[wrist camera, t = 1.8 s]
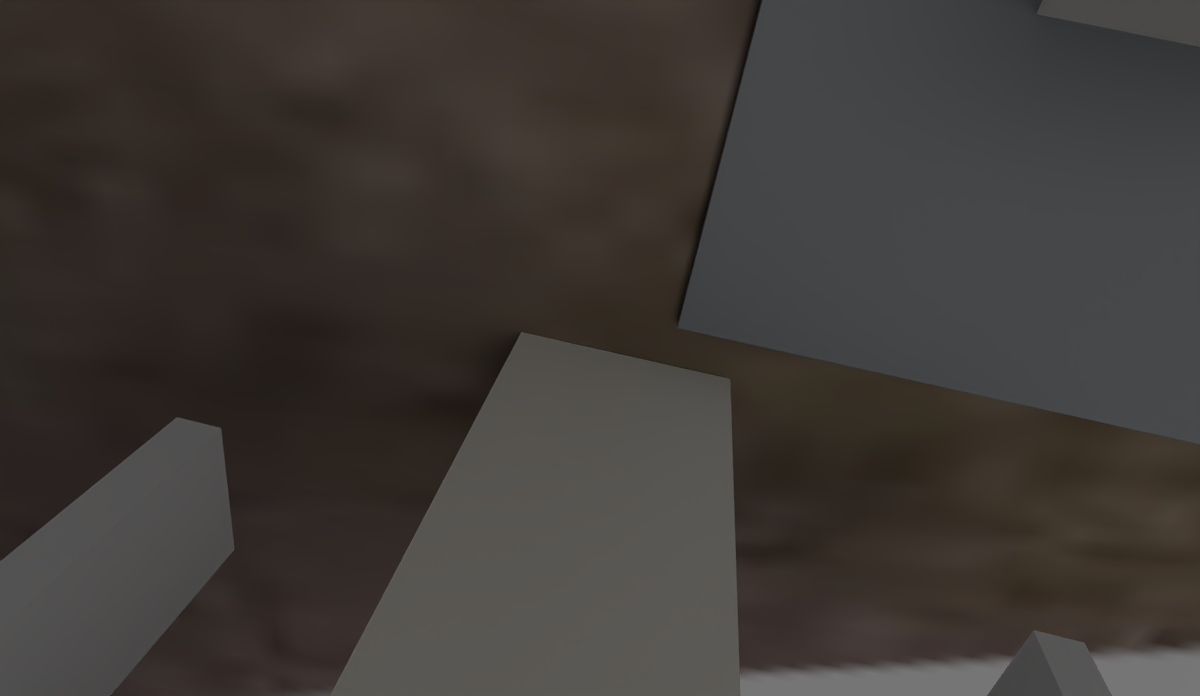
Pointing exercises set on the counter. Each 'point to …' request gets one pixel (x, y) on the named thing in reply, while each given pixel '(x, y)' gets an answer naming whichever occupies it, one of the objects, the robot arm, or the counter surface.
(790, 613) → the counter surface
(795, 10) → the mat
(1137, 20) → the domino
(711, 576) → the end domino
